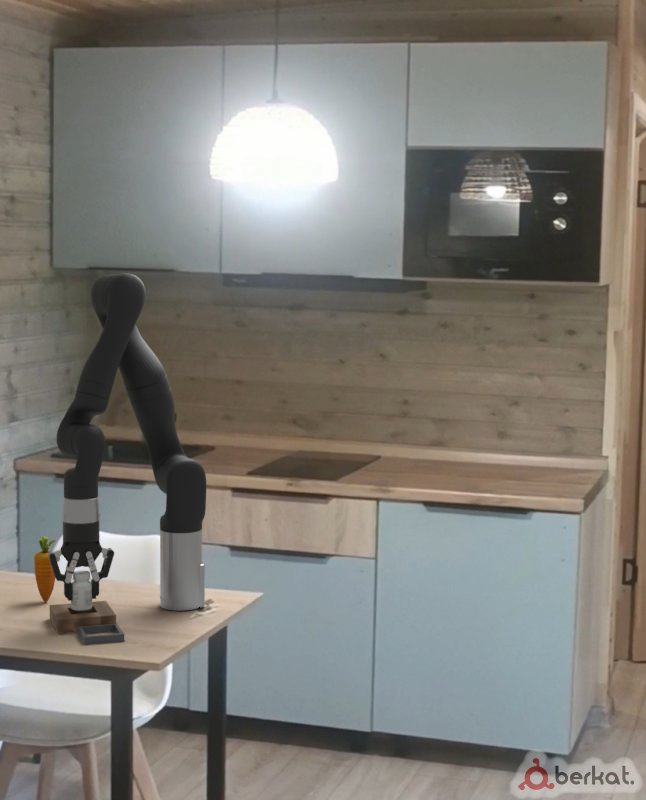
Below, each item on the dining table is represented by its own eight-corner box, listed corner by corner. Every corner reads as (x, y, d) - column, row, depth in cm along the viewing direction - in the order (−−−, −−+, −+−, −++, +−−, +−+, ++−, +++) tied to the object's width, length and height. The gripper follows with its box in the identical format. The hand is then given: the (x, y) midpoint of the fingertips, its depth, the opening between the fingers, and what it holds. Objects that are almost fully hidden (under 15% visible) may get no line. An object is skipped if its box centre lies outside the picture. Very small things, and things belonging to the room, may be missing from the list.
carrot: (38, 598, 299) (37, 533, 297) (59, 599, 298) (59, 533, 296) (31, 604, 294) (30, 537, 292) (53, 605, 293) (52, 538, 292)
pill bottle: (92, 605, 281) (92, 569, 280) (92, 610, 277) (92, 574, 276) (71, 606, 280) (71, 570, 279) (70, 611, 276) (70, 575, 275)
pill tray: (117, 630, 274) (117, 623, 274) (124, 641, 267) (124, 633, 266) (78, 633, 271) (78, 626, 271) (84, 644, 264) (84, 637, 264)
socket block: (106, 614, 286) (105, 600, 286) (116, 629, 275) (116, 615, 275) (49, 618, 282) (49, 605, 282) (57, 634, 271) (57, 619, 271)
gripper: (112, 513, 282) (112, 592, 284) (44, 516, 278) (44, 596, 279) (118, 520, 275) (118, 601, 277) (48, 523, 271) (49, 605, 272)
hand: (81, 598), depth 278 cm, fingers closed on pill bottle, 4 cm apart
